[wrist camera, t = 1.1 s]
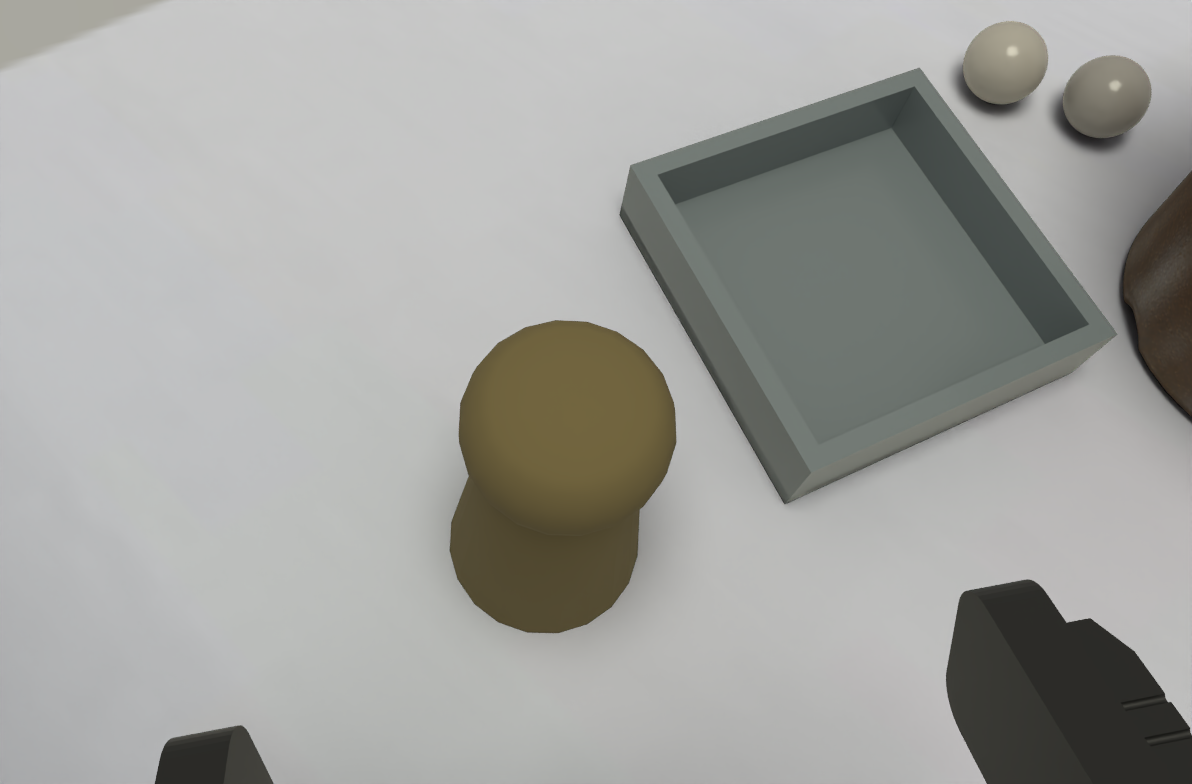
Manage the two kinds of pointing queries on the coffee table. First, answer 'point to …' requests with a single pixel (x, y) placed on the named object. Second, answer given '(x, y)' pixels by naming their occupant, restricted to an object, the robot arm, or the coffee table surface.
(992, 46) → the pebble
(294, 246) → the coffee table surface
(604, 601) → the cork
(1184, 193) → the plant pot
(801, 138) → the slate dish
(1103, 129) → the pebble
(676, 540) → the coffee table surface
